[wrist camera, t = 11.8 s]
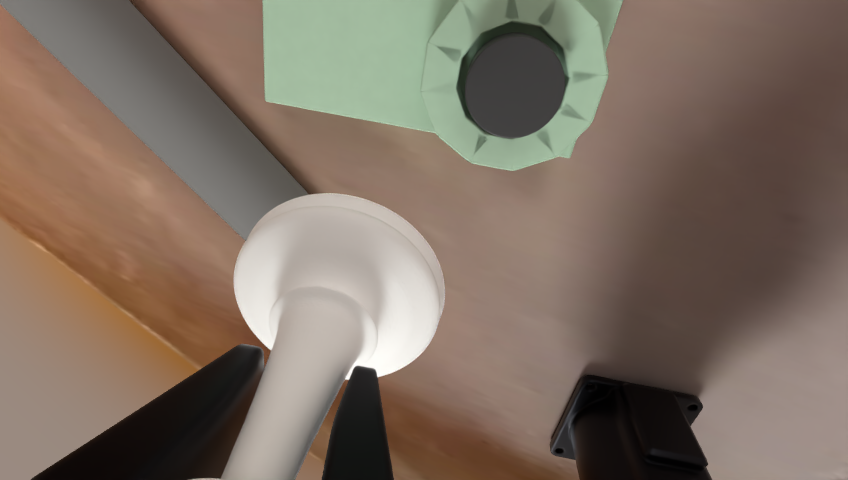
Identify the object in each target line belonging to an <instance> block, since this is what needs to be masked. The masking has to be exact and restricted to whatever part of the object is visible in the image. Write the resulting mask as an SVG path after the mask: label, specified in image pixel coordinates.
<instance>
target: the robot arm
mask: <svg viewBox="0 0 848 480" xmlns="http://www.w3.org/2000/svg"><path fill="white" fill-rule="evenodd" d="M263 372H264V353H263V350H262V348H260V347H257V346H252V345H247V344H240V345H238V346H236V347H234V348H233V349H231V350H230V351H228V352H227V353H225V354H223V355H222V356H220V357H219V358H217V359H216V360H214V361H213V362H211V363H210V364H208V365H206V366H205V367H203V368H202V369H200V370H199V371H197V372H196V373H194V374H193V375H191V376H189V377H188V378H186V379H185V380H183V381H182V382H180V383H179V384H177V385H176V386H174V387H172V388H171V389H169V390H168V391H166V392H165V393H163V394H162V395H160V396H159V397H157V398H155V399H154V400H152V401H151V402H149V403H148V404H146V405H145V406H143V407H141V408H140V409H139V410H137V411H135V412H134V413H132V414H131V415H129V416H128V417H126V418H124V419H123V420H121V421H120V422H118V423H117V424H115V425H114V426H112V427H111V428H109V429H107V430H106V431H104V432H103V433H101V434H100V435H98V436H97V437H95V438H94V439H92V440H90V441H89V442H88V443H86V444H84V445H83V446H81V447H80V448H78V449H77V450H75V451H73V452H72V453H70V454H69V455H67V456H66V457H64V458H63V459H61V460H60V461H58V462H56V463H55V464H54V465H52V466H50V467H49V468H47V469H46V470H44V471H43V472H41V473H39V474H38V475H36V476H35V477H34V478H32V479H31V480H190V479H198V478H217V479H221V476H222V474H223V472H224V469H225V467H226V464H227V462H228V459H229V457H230V454H231V452H232V450H233V447H234V445H235V442H236V440H237V438H238V435H239V433H240V431H241V429H242V426H243V424H244V421H245V419H246V416H247V414H248V411H249V408H250V406H251V403H252V401H253V398H254V396H255V393H256V390H257V388H258V385H259V382H260V380H261V377H262V374H263ZM589 384H592V385H589ZM702 408H703V405H702V403H701V401H700V399H699V398H698V397H697V396H694V395H689V394H684V393H679V392H674V391H669V390H664V389H659V388H654V387H649V386H644V385H639V384H634V383H628V382H623V381H618V380H613V379H608V378H603V377H598V376H593V375H587V376H584V377H582V378H581V379H580V381H579V383H578V385H577V388H576V390H575V392H574V394H573V396H572V398H571V400H570V402H569V405H568V407H567V409H566V411H565V413H564V415H563V417H562V419H561V421H560V424H559V426H558V428H557V430H556V432H555V434H554V436H553V438H552V440H551V443H550V450H551V453H552V454H553V455H555V456H559V457H564V458H569V459H574V460H576V464H577V469H578V474H579V478H580V480H712V478H711V476H710V474H709V472H708V470H707V468H706V466H707V465H708V462H707V459H706V457H705V455H704V453H703V451H702V449H701V447H700V445H699V443H698V441H697V439H696V437H695V435H694V433H693V431H692V429H691V427H690V426H691V424H692V423H693V422H694V420H695V419H696V417H697V416H698V414H699V413H700V412H701V410H702ZM322 480H394V478H393V471H392V465H391V459H390V453H389V446H388V440H387V434H386V428H385V421H384V415H383V409H382V403H381V396H380V390H379V384H378V377H377V372H376V370H375V369H374V368H369V367H364V366H355V367H354V369H353V371H352V374H351V376H350V379H349V381H348V384H347V387H346V389H345V392H344V394H343V397H342V400H341V402H340V405H339V407H338V410H337V413H336V416H335V419H334V422H333V426H332V430H331V434H330V440H329V445H328V450H327V455H326V460H325V465H324V471H323V476H322Z"/></svg>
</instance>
